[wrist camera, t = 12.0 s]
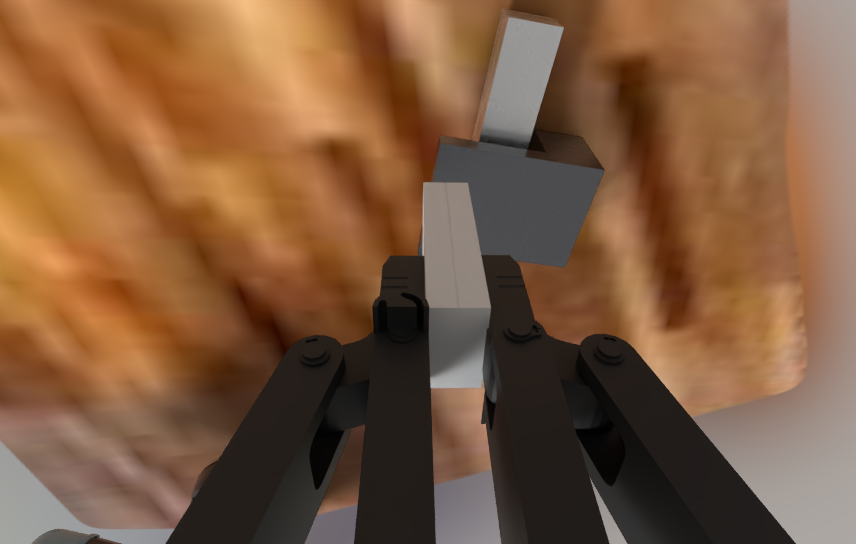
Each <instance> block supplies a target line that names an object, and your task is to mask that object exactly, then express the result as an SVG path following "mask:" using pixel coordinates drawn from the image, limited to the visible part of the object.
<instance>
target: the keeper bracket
mask: <svg viewBox="0 0 856 544" xmlns="http://www.w3.org/2000/svg"><path fill="white" fill-rule="evenodd" d="M603 173H604V168H603V167H602V166H601V164H600V163H599V161H598V160H597V158H596V157H595V155H594V154H593V152H592V151H591V150H590V148H589V147H588V145H587V144H586V142H585V141H584V139H583V138H582V137H579V136H573V135H567V134H561V133H555V132H549V131H543V130H538V129H534V132H533V136H532V139H531V142H530V145H529V149H528V150H527V149H521V148H515V147H509V146H503V145H497V144H491V143H485V142H479V141H473V140H466V139H460V138H454V137H448V136H442V135H440V137H439V142H438V147H437V152H436V157H435V162H434V167H433V172H432V177H431V182H440V183H468V186H469V192H470V197H471V203H472V208H473V213H474V219H475V224H476V230H477V235H478V240H479V246H480V251H481V255H510V256H511V257H512V258H513V259H514V260H515V261H521V262H528V263H535V264H542V265H549V266H556V267H564V268H565V266H566V263H567V261H568V259H569V256H570V254H571V251H572V249H573V246H574V244H575V241H576V239H577V237H578V234H579V232H580V229H581V227H582V224H583V222H584V219H585V217H586V214H587V212H588V210H589V207H590V205H591V202H592V200H593V197H594V195H595V192H596V190H597V188H598V185H599V183H600V180H601V178H602V175H603ZM422 240H423V223H422V228H421V233H420V242H419V247H418V256H422Z"/></svg>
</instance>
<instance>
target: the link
mask: <svg viewBox="0 0 856 544" xmlns="http://www.w3.org/2000/svg"><path fill="white" fill-rule="evenodd" d="M563 30H564V27H563V26H562V25H561V24H560V23H558V22H557V21H556V20H555V19H554V18H550V17H545V16H540V15H535V14H530V13H525V12H519V11H514V10H509V9H504V8H502V11H501V15H500V20H499V24H498V28H497V33H496V37H495V41H494V46H493V50H492V54H491V59H490V63H489V67H488V72H487V76H486V80H485V85H484V89H483V93H482V97H481V102H480V106H479V110H478V115H477V119H476V123H475V128H474V132H473V136H472V140H473V141H479V142H485V143H491V144H497V145H503V146H509V147H515V148H521V149H528V146H529V142H530V139H531V136H532V132H533V129H534V126H535V122H536V119H537V116H538V112H539V109H540V106H541V102H542V99H543V96H544V92H545V89H546V86H547V83H548V79H549V76H550V73H551V69H552V66H553V63H554V59H555V56H556V53H557V49H558V46H559V43H560V39H561V36H562V33H563Z"/></svg>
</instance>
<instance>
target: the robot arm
mask: <svg viewBox="0 0 856 544" xmlns="http://www.w3.org/2000/svg"><path fill="white" fill-rule="evenodd" d="M372 308H373V325H374V331H373V332H372V333H371V334H370V335H368V336H367V337H365V338H364V339H362V340H360V341H357V342H354V343H350V344H346V345H341V344H340V343H339V342H338V341H337V340H336V339H334V338H331V337H328V336H321V335H314V336H310V337H306V338H303V339H301V340H299V341H297V342H295V343H294V344H293V345H292V346H291V347H290V348H289V349H288V351H287V352H286V354H285V355H284V357H283V359H282V360H281V362H280V363H279V365H278V366H277V368H276V370H275V371H274V373H273V374H272V376H271V378H270V379H269V381H268V382H267V384H266V385H265V387H264V389H263V390H262V392H261V393H260V395H259V397H258V398H257V400H256V401H255V403H254V404H253V406H252V408H251V409H250V411H249V412H248V414H247V416H246V417H245V419H244V420H243V422H242V423H241V425H240V427H239V428H238V430H237V431H236V433H235V435H234V436H233V438H232V439H231V441H230V442H229V444H228V446H227V447H226V449H225V450H224V452H223V454H222V455H221V457H220V458H219V460H218V461H217V463H214V464H212V465H210V466H209V467H207V468H206V469H205V470H203V471H202V472H201V474H200V475H199V477H198V479H197V482H196V484H195V487H194V490H193V492H192V496H191V504H190V506H189V507H188V509H187V511H186V512H185V514H184V515H183V517H182V518H181V520H180V522H179V523H178V525H177V526H176V528H175V530H174V531H173V533H172V534H171V536H170V537H169V539H168V541H167V542H166V544H304V543H305V541H306V539H307V536H308V534H309V531H310V529H311V527H312V524H313V522H314V519H315V517H316V515H317V512H318V510H319V507H320V505H321V502H322V500H323V498H324V495H325V493H326V490H327V488H328V485H329V483H330V481H331V478H332V476H333V473H334V471H335V469H336V466H337V464H338V461H339V459H340V456H341V454H342V452H343V449H344V447H345V444H346V442H347V440H348V437H349V435H350V432H351V428H354V427H357V426H360V425H364V424H365V433H364V444H363V455H362V465H361V476H360V486H359V497H358V508H357V519H356V529H355V540H354V544H436V540H435V539H436V538H435V508H434V476H433V446H432V416H431V388H482V382H483V379H484V386H485V395H484V403H483V412H482V420H481V424H485V423H486V429H487V436H488V444H489V452H490V459H491V467H492V474H493V482H494V490H495V497H496V505H497V513H498V520H499V528H500V536H501V543H502V544H609V541H608V537H607V534H606V531H605V527H604V524H603V521H602V517H601V514H600V511H599V507H598V504H597V501H596V497H595V494H594V491H593V487H592V484H591V480H592V482H593V484H594V485H595V487H596V489H597V491H598V492H599V494H600V496H601V498H602V499H603V501H604V503H605V505H606V506H607V508H608V510H609V512H610V514H611V515H612V517H613V519H614V521H615V522H616V524H617V526H618V528H619V529H620V531H621V533H622V535H623V536H624V538H625V540H626V542H627V543H628V544H796V543H795V542H794V541H793V540H792V538H791V537H790V536H789V535H788V534H787V532H786V531H785V530H784V529H783V528H782V527H781V525H780V524H779V523H778V522H777V520H776V519H775V518H774V517H773V516H772V514H771V513H770V512H769V511H768V509H767V508H766V507H765V506H764V505H763V503H762V502H761V501H760V500H759V499H758V497H757V496H756V495H755V494H754V493H753V491H752V490H751V489H750V488H749V487H748V485H747V484H746V483H745V482H744V481H743V479H742V478H741V477H740V476H739V475H738V473H737V472H736V471H735V470H734V469H733V467H732V466H731V465H730V464H729V463H728V461H727V460H726V459H725V458H724V456H723V455H722V454H721V453H720V452H719V451H718V449H717V448H716V447H715V446H714V444H713V443H712V442H711V441H710V440H709V438H708V437H707V436H706V435H705V434H704V432H703V431H702V430H701V429H700V428H699V426H698V425H697V424H696V423H695V421H694V420H693V419H692V418H691V417H690V415H689V414H688V413H687V412H686V411H685V409H684V408H683V407H682V406H681V405H680V403H679V402H678V401H677V400H676V399H675V397H674V396H673V395H672V394H671V393H670V391H669V390H668V389H667V388H666V387H665V385H664V384H663V383H662V382H661V381H660V379H659V378H658V377H657V376H656V374H655V373H654V372H653V371H652V370H651V368H650V367H649V366H648V365H647V364H646V362H645V361H644V360H643V359H642V358H641V356H640V355H639V354H638V353H637V352H636V350H635V349H634V348H633V347H632V346H631V345H629V344H628V343H627V342H626V341H624V340H622V339H620V338H618V337H616V336H612V335H607V334H594V335H591V336H588V337H586V338H585V339H584V340H583V341H582V342H581V344H580V345H576V344H572V343H568V342H564V341H561V340H557V339H555V338H553V337H551V336H549V335H547V333H546V331H545V330H544V328H543V326H542V325H541V324H539V323H538V322H537V321H535V319H534V315H533V312H532V308H531V305H530V301H529V298H528V294H527V291H526V288H525V284H524V280H523V279H522V273H521V270H520V266H519V264H518V263H517V262H516V261H515V260H514V259H513V258H512V257H511V256H510V255H481V251H480V246H479V240H478V235H477V230H476V224H475V219H474V213H473V208H472V203H471V197H470V192H469V186H468V183H440V182H423V240H422V256H390V257H389V259H388V260H387V261H386V262H385V264H384V265H383V269H382V280H381V291H380V296H379V297H378V298H377V299H376V300H375V302H374V304H373V306H372ZM590 478H591V480H590ZM99 537H100V536H99V535H97V534H90V535H87V534H82V533H78V532H74V531H69V530H65V529H54V530H51V531H48V532H46V533H44V534H42V535H41V536H39V537H38V538H37V539H36V540H35V541H34V542H33V543H32V544H120V543H117V542H113V541H109V540H106V539H102V538H99Z"/></svg>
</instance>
